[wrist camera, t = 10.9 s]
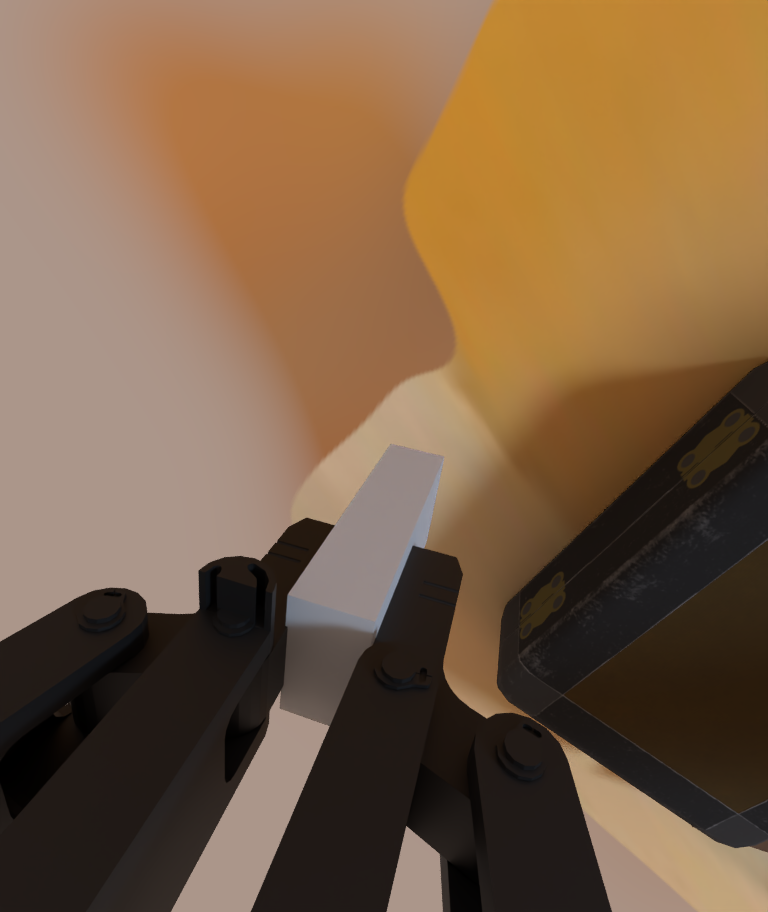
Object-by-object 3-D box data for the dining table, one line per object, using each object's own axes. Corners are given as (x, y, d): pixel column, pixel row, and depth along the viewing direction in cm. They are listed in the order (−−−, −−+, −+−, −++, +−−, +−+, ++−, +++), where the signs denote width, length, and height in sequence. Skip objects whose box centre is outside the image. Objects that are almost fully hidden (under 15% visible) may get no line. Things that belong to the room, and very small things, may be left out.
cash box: (708, 758, 40) (744, 868, 34) (492, 611, 40) (484, 692, 33) (1075, 552, 29) (1245, 656, 22) (775, 340, 28) (853, 379, 21)
